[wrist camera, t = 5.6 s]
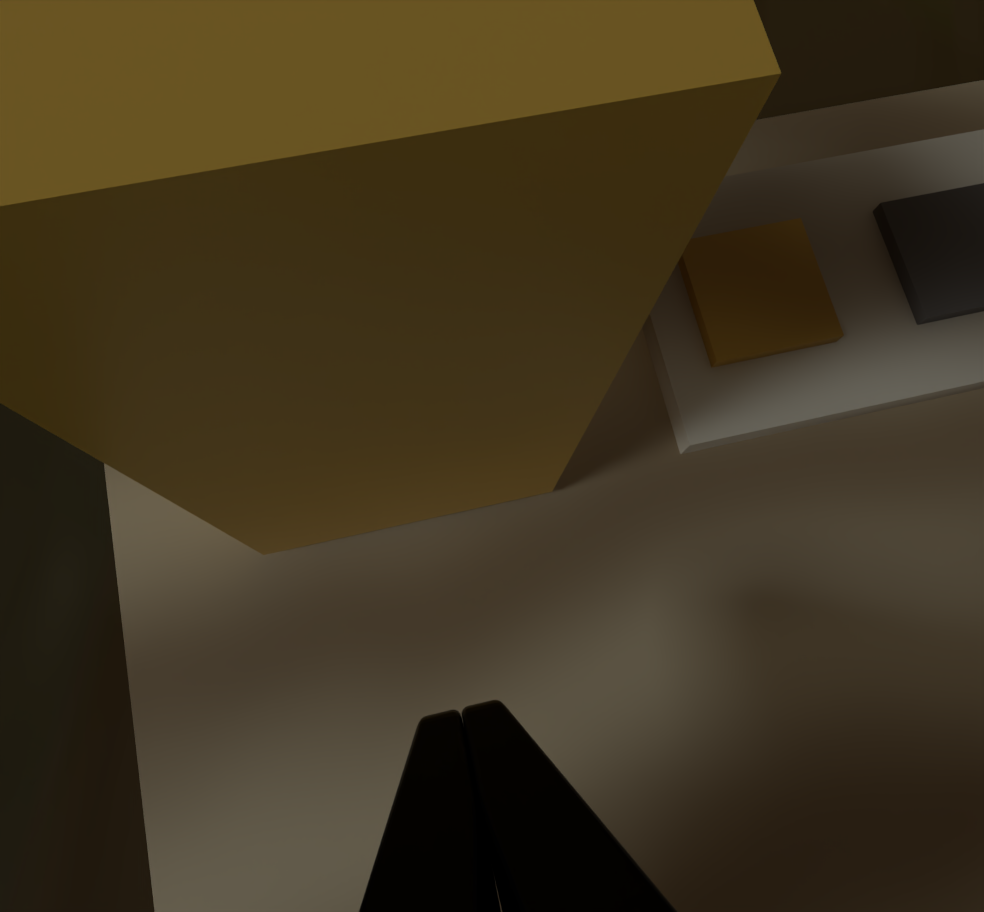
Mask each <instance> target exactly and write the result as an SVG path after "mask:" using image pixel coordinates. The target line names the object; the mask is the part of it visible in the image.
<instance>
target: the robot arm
mask: <svg viewBox="0 0 984 912" xmlns="http://www.w3.org/2000/svg"><path fill="white" fill-rule="evenodd" d="M462 720H463V722H462ZM496 886H497V887H496ZM497 891H498V892H497ZM498 895H499V897H498ZM499 900H500V902H499ZM500 905H501V907H500ZM501 909H502V912H677V910H676V909H675V908H674V907H673V906H672V904H671V903H670V902H669V901H668V900H667V898H666V897H665V896H664V895H663V894H662V892H661V891H660V890H659V889H658V888H657V886H656V885H655V884H654V883H653V882H652V880H651V879H650V878H649V877H648V876H647V874H646V873H645V872H644V871H643V870H642V868H641V867H640V866H639V865H638V864H637V862H636V861H635V860H634V859H633V858H632V857H631V855H630V854H629V853H628V852H627V851H626V849H625V848H624V847H623V846H622V845H621V843H620V842H619V841H618V840H617V839H616V837H615V836H614V835H613V834H612V833H611V831H610V830H609V829H608V828H607V827H606V825H605V824H604V823H603V822H602V821H601V819H600V818H599V817H598V816H597V815H596V813H595V812H594V811H593V810H592V809H591V807H590V806H589V805H588V804H587V803H586V801H585V800H584V799H583V798H582V797H581V795H580V794H579V793H578V792H577V791H576V789H575V788H574V787H573V786H572V785H571V783H570V782H569V781H568V780H567V779H566V778H565V776H564V775H563V774H562V773H561V772H560V770H559V769H558V768H557V767H556V766H555V764H554V763H553V762H552V761H551V760H550V758H549V757H548V756H547V755H546V754H545V752H544V751H543V750H542V749H541V748H540V746H539V745H538V744H537V743H536V742H535V740H534V739H533V738H532V737H531V736H530V734H529V733H528V732H527V731H526V730H525V728H524V727H523V726H522V725H521V724H520V722H519V721H518V720H517V719H516V718H515V716H514V715H513V714H512V713H511V712H510V710H509V709H508V708H507V707H506V706H505V705H504V704H503V703H502V702H501V701H499V700H490V701H486V702H482V703H478V704H474V705H469V706H466V707H465V708H464V709H463V710H462V717H461V714H460V713H459V711H457V710H448V711H444V712H440V713H436V714H431V715H427V716H424V717H423V718H421V720H420V721H419V723H418V725H417V728H416V731H415V734H414V737H413V740H412V744H411V747H410V750H409V753H408V756H407V759H406V763H405V766H404V769H403V772H402V775H401V779H400V782H399V785H398V788H397V791H396V794H395V798H394V801H393V804H392V807H391V810H390V814H389V817H388V820H387V823H386V826H385V830H384V833H383V836H382V839H381V842H380V845H379V849H378V852H377V855H376V858H375V861H374V865H373V868H372V871H371V874H370V877H369V880H368V884H367V887H366V890H365V893H364V896H363V900H362V903H361V906H360V909H359V912H501Z"/></svg>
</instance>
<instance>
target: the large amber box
mask: <svg viewBox="0 0 984 912" xmlns="http://www.w3.org/2000/svg"><path fill="white" fill-rule="evenodd" d="M780 75H781V71H780V69H779V66H778V64H777V61H776V58H775V56H774V53H773V50H772V48H771V45H770V43H769V40H768V37H767V35H766V32H765V29H764V27H763V24H762V22H761V19H760V16H759V14H758V11H757V8H756V6H755V3H754V1H753V0H0V403H1V404H3V405H4V406H6V407H8V408H10V409H11V410H13V411H15V412H17V413H18V414H20V415H22V416H23V417H25V418H27V419H29V420H30V421H32V422H34V423H36V424H37V425H39V426H41V427H42V428H44V429H46V430H48V431H49V432H51V433H53V434H55V435H56V436H58V437H60V438H62V439H63V440H65V441H67V442H68V443H70V444H72V445H74V446H75V447H77V448H79V449H81V450H82V451H84V452H86V453H87V454H89V455H91V456H93V457H94V458H96V459H98V460H100V461H101V462H103V463H105V464H107V465H108V466H110V467H112V468H113V469H115V470H117V471H119V472H120V473H122V474H124V475H126V476H127V477H129V478H131V479H133V480H134V481H136V482H138V483H139V484H141V485H143V486H145V487H146V488H148V489H150V490H152V491H153V492H155V493H157V494H158V495H160V496H162V497H164V498H165V499H167V500H169V501H171V502H172V503H174V504H176V505H178V506H179V507H181V508H183V509H184V510H186V511H188V512H190V513H191V514H193V515H195V516H197V517H198V518H200V519H202V520H204V521H205V522H207V523H209V524H210V525H212V526H214V527H216V528H217V529H219V530H221V531H223V532H224V533H226V534H228V535H229V536H231V537H233V538H235V539H236V540H238V541H240V542H242V543H243V544H245V545H247V546H249V547H250V548H252V549H254V550H255V551H257V552H259V553H261V554H262V555H266V554H271V553H275V552H280V551H285V550H289V549H294V548H298V547H303V546H307V545H312V544H316V543H321V542H326V541H330V540H335V539H339V538H344V537H348V536H353V535H357V534H362V533H367V532H371V531H376V530H380V529H385V528H389V527H394V526H398V525H403V524H408V523H412V522H417V521H421V520H426V519H430V518H435V517H439V516H444V515H448V514H453V513H458V512H462V511H467V510H471V509H476V508H480V507H485V506H489V505H494V504H499V503H503V502H508V501H512V500H517V499H521V498H526V497H530V496H535V495H540V494H544V493H549V492H552V491H553V489H554V487H555V485H556V484H557V482H558V480H559V478H560V476H561V474H562V473H563V471H564V469H565V467H566V465H567V464H568V462H569V460H570V458H571V456H572V454H573V453H574V451H575V449H576V447H577V445H578V443H579V442H580V440H581V438H582V436H583V434H584V433H585V431H586V429H587V427H588V425H589V423H590V422H591V420H592V418H593V416H594V414H595V412H596V411H597V409H598V407H599V405H600V403H601V401H602V400H603V398H604V396H605V394H606V392H607V391H608V389H609V387H610V385H611V383H612V381H613V380H614V378H615V376H616V374H617V372H618V370H619V369H620V367H621V365H622V363H623V361H624V359H625V358H626V356H627V354H628V352H629V350H630V349H631V347H632V345H633V343H634V341H635V339H636V338H637V336H638V334H639V332H640V330H641V328H642V327H643V325H644V323H645V321H646V319H647V318H648V316H649V314H650V312H651V310H652V308H653V307H654V305H655V303H656V301H657V299H658V297H659V296H660V294H661V292H662V290H663V288H664V286H665V285H666V283H667V281H668V279H669V277H670V276H671V274H672V272H673V270H674V268H675V266H676V265H677V263H678V261H679V259H680V257H681V255H682V254H683V252H684V250H685V248H686V246H687V244H688V243H689V241H690V239H691V237H692V235H693V234H694V232H695V230H696V228H697V226H698V224H699V223H700V221H701V219H702V217H703V215H704V213H705V212H706V210H707V208H708V206H709V204H710V202H711V201H712V199H713V197H714V195H715V193H716V192H717V190H718V188H719V186H720V184H721V182H722V181H723V179H724V177H725V175H726V173H727V171H728V170H729V168H730V166H731V164H732V162H733V161H734V159H735V157H736V155H737V153H738V151H739V150H740V148H741V146H742V144H743V142H744V140H745V139H746V137H747V135H748V133H749V131H750V129H751V128H752V126H753V124H754V122H755V120H756V119H757V117H758V115H759V113H760V111H761V109H762V108H763V106H764V104H765V102H766V100H767V98H768V97H769V95H770V93H771V91H772V89H773V87H774V86H775V84H776V82H777V80H778V78H779V77H780Z"/></svg>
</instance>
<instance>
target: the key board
mask: <svg viewBox="0 0 984 912" xmlns="http://www.w3.org/2000/svg"><path fill="white" fill-rule="evenodd" d="M104 467H105V476H106V485H107V494H108V502H109V511H110V520H111V529H112V538H113V547H114V556H115V564H116V573H117V582H118V591H119V600H120V609H121V617H122V626H123V635H124V644H125V653H126V662H127V670H128V679H129V688H130V697H131V706H132V715H133V724H134V732H135V741H136V750H137V759H138V768H139V777H140V785H141V794H142V803H143V812H144V821H145V830H146V838H147V847H148V856H149V865H150V874H151V883H152V892H153V900H154V909H155V912H359V909H360V906H361V903H362V900H363V896H364V893H365V890H366V887H367V884H368V880H369V877H370V874H371V871H372V868H373V865H374V861H375V858H376V855H377V852H378V849H379V845H380V842H381V839H382V836H383V833H384V830H385V826H386V823H387V820H388V817H389V814H390V810H391V807H392V804H393V801H394V798H395V794H396V791H397V788H398V785H399V782H400V779H401V775H402V772H403V769H404V766H405V763H406V759H407V756H408V753H409V750H410V747H411V744H412V740H413V737H414V734H415V731H416V728H417V725H418V723H419V721H420V720H421V718H423V717H424V716H427V715H431V714H436V713H440V712H444V711H448V710H457V711H459V713H460V714H461V717H462V710H463V709H464V708H465V707H466V706H469V705H474V704H478V703H482V702H486V701H490V700H499V701H501V702H502V703H503V704H504V705H505V706H506V707H507V708H508V709H509V710H510V712H511V713H512V714H513V715H514V716H515V718H516V719H517V720H518V721H519V722H520V724H521V725H522V726H523V727H524V728H525V730H526V731H527V732H528V733H529V734H530V736H531V737H532V738H533V739H534V740H535V742H536V743H537V744H538V745H539V746H540V748H541V749H542V750H543V751H544V752H545V754H546V755H547V756H548V757H549V758H550V760H551V761H552V762H553V763H554V764H555V766H556V767H557V768H558V769H559V770H560V772H561V773H562V774H563V775H564V776H565V778H566V779H567V780H568V781H569V782H570V783H571V785H572V786H573V787H574V788H575V789H576V791H577V792H578V793H579V794H580V795H581V797H582V798H583V799H584V800H585V801H586V803H587V804H588V805H589V806H590V807H591V809H592V810H593V811H594V812H595V813H596V815H597V816H598V817H599V818H600V819H601V821H602V822H603V823H604V824H605V825H606V827H607V828H608V829H609V830H610V831H611V833H612V834H613V835H614V836H615V837H616V839H617V840H618V841H619V842H620V843H621V845H622V846H623V847H624V848H625V849H626V851H627V852H628V853H629V854H630V855H631V857H632V858H633V859H634V860H635V861H636V862H637V864H638V865H639V866H640V867H641V868H642V870H643V871H644V872H645V873H646V874H647V876H648V877H649V878H650V879H651V880H652V882H653V883H654V884H655V885H656V886H657V888H658V889H659V890H660V891H661V892H662V894H663V895H664V896H665V897H666V898H667V900H668V901H669V902H670V903H671V904H672V906H673V907H674V908H675V909H676V910H677V912H984V80H981V81H975V82H970V83H964V84H958V85H953V86H947V87H941V88H936V89H930V90H924V91H919V92H913V93H907V94H902V95H896V96H890V97H884V98H879V99H873V100H867V101H862V102H856V103H850V104H845V105H839V106H833V107H828V108H822V109H816V110H810V111H805V112H799V113H793V114H788V115H782V116H776V117H771V118H765V119H759V120H755V122H754V124H753V126H752V128H751V129H750V131H749V133H748V135H747V137H746V139H745V140H744V142H743V144H742V146H741V148H740V150H739V151H738V153H737V155H736V157H735V159H734V161H733V162H732V164H731V166H730V168H729V170H728V171H727V173H726V175H725V177H724V179H723V181H722V182H721V184H720V186H719V188H718V190H717V192H716V193H715V195H714V197H713V199H712V201H711V202H710V204H709V206H708V208H707V210H706V212H705V213H704V215H703V217H702V219H701V221H700V223H699V224H698V226H697V228H696V230H695V232H694V234H693V235H692V237H691V239H690V241H689V243H688V244H687V246H686V248H685V250H684V252H683V254H682V255H681V257H680V259H679V261H678V263H677V265H676V266H675V268H674V270H673V272H672V274H671V276H670V277H669V279H668V281H667V283H666V285H665V286H664V288H663V290H662V292H661V294H660V296H659V297H658V299H657V301H656V303H655V305H654V307H653V308H652V310H651V312H650V314H649V316H648V318H647V319H646V321H645V323H644V325H643V327H642V328H641V330H640V332H639V334H638V336H637V338H636V339H635V341H634V343H633V345H632V347H631V349H630V350H629V352H628V354H627V356H626V358H625V359H624V361H623V363H622V365H621V367H620V369H619V370H618V372H617V374H616V376H615V378H614V380H613V381H612V383H611V385H610V387H609V389H608V391H607V392H606V394H605V396H604V398H603V400H602V401H601V403H600V405H599V407H598V409H597V411H596V412H595V414H594V416H593V418H592V420H591V422H590V423H589V425H588V427H587V429H586V431H585V433H584V434H583V436H582V438H581V440H580V442H579V443H578V445H577V447H576V449H575V451H574V453H573V454H572V456H571V458H570V460H569V462H568V464H567V465H566V467H565V469H564V471H563V473H562V474H561V476H560V478H559V480H558V482H557V484H556V485H555V487H554V489H553V491H552V492H549V493H544V494H540V495H535V496H530V497H526V498H521V499H517V500H512V501H508V502H503V503H499V504H494V505H489V506H485V507H480V508H476V509H471V510H467V511H462V512H458V513H453V514H448V515H444V516H439V517H435V518H430V519H426V520H421V521H417V522H412V523H408V524H403V525H398V526H394V527H389V528H385V529H380V530H376V531H371V532H367V533H362V534H357V535H353V536H348V537H344V538H339V539H335V540H330V541H326V542H321V543H316V544H312V545H307V546H303V547H298V548H294V549H289V550H285V551H280V552H275V553H271V554H266V555H262V554H261V553H259V552H257V551H255V550H254V549H252V548H250V547H249V546H247V545H245V544H243V543H242V542H240V541H238V540H236V539H235V538H233V537H231V536H229V535H228V534H226V533H224V532H223V531H221V530H219V529H217V528H216V527H214V526H212V525H210V524H209V523H207V522H205V521H204V520H202V519H200V518H198V517H197V516H195V515H193V514H191V513H190V512H188V511H186V510H184V509H183V508H181V507H179V506H178V505H176V504H174V503H172V502H171V501H169V500H167V499H165V498H164V497H162V496H160V495H158V494H157V493H155V492H153V491H152V490H150V489H148V488H146V487H145V486H143V485H141V484H139V483H138V482H136V481H134V480H133V479H131V478H129V477H127V476H126V475H124V474H122V473H120V472H119V471H117V470H115V469H113V468H112V467H110V466H108V465H107V464H105V463H104ZM462 722H463V720H462ZM496 887H497V886H496ZM497 892H498V891H497ZM498 897H499V895H498ZM499 902H500V900H499ZM500 907H501V905H500ZM501 912H502V909H501Z"/></svg>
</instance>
